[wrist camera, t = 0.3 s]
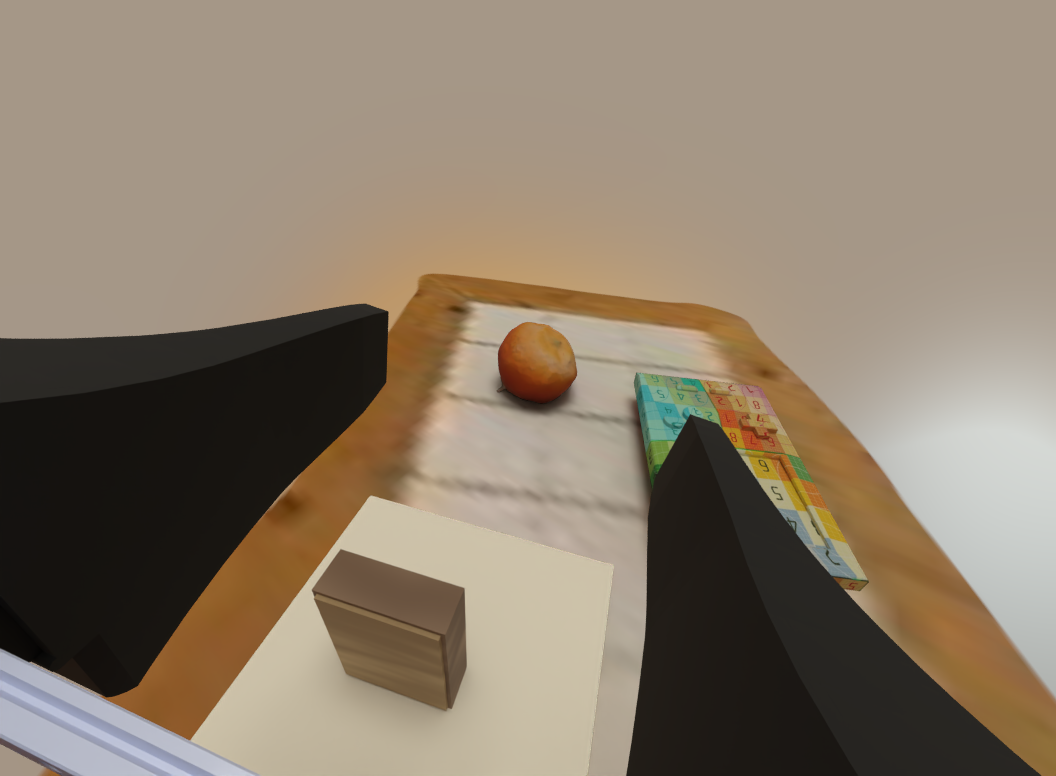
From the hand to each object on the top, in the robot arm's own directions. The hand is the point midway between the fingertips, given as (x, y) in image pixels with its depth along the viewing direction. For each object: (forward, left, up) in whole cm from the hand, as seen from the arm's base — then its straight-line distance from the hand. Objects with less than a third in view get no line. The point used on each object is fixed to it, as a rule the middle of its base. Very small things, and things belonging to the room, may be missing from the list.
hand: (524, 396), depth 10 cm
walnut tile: (0, +5, -20) cm, 21 cm away
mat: (0, +4, -20) cm, 21 cm away
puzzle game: (+20, -12, -21) cm, 32 cm away
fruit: (+27, +5, -21) cm, 35 cm away
